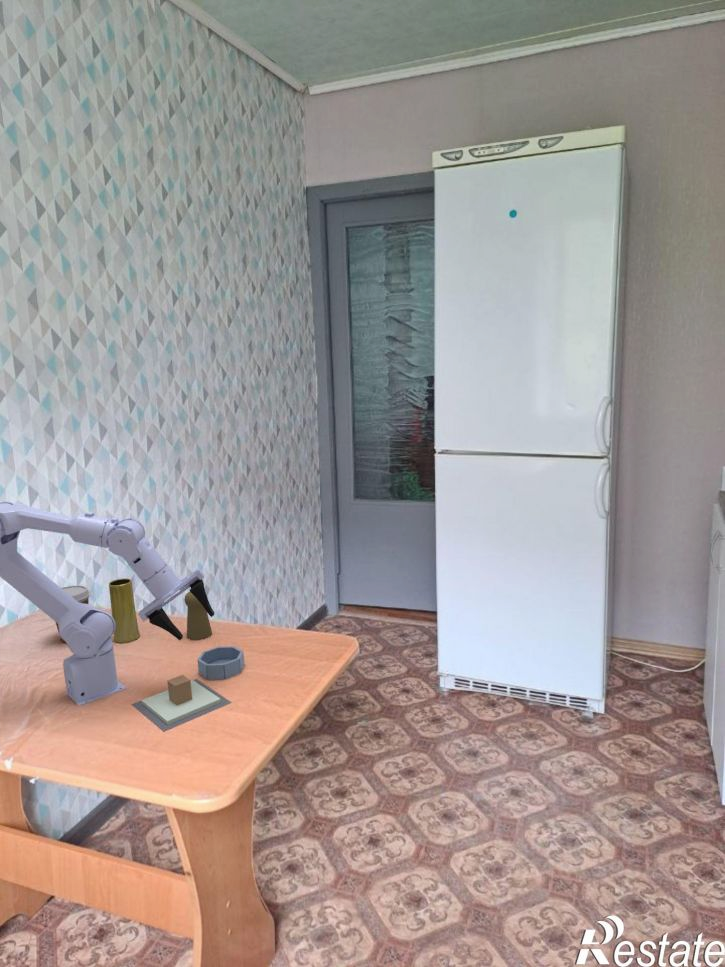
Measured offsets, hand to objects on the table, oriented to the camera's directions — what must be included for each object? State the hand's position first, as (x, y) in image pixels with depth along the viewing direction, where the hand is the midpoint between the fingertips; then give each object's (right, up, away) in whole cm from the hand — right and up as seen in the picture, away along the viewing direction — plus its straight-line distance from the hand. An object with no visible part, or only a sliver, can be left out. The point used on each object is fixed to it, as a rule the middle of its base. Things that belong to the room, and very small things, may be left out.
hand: (197, 626), depth 135 cm
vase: (-24, -9, +29) cm, 38 cm away
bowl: (+3, -11, +9) cm, 15 cm away
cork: (-6, -8, +28) cm, 30 cm away
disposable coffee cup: (-37, -9, +30) cm, 49 cm away
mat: (-2, -14, -5) cm, 15 cm away
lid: (-2, -14, -5) cm, 15 cm away
